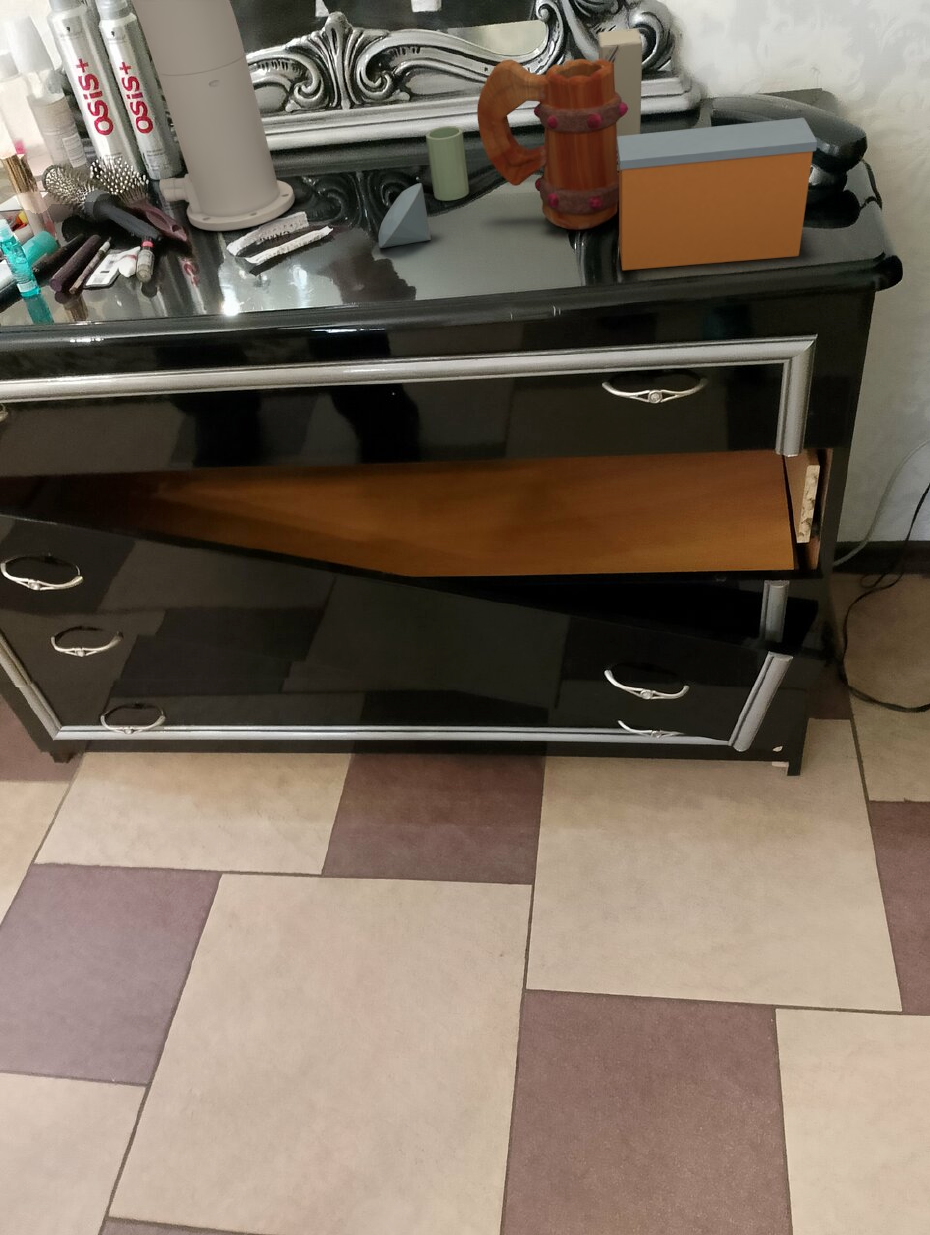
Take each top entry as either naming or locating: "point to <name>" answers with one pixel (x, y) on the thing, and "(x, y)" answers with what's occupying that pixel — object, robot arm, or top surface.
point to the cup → (447, 163)
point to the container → (713, 193)
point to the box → (625, 74)
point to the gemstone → (405, 219)
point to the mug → (559, 136)
